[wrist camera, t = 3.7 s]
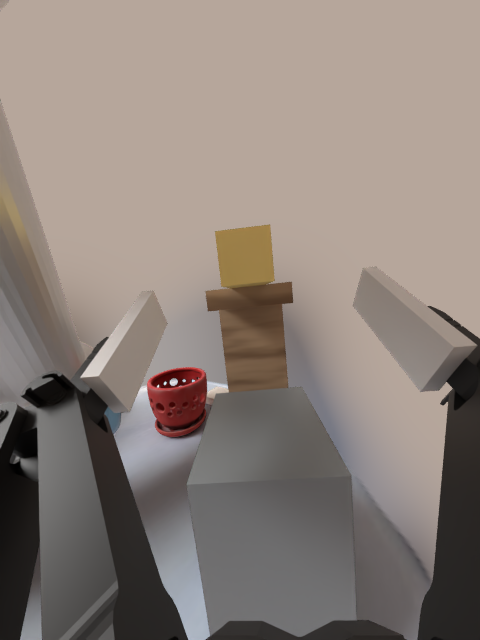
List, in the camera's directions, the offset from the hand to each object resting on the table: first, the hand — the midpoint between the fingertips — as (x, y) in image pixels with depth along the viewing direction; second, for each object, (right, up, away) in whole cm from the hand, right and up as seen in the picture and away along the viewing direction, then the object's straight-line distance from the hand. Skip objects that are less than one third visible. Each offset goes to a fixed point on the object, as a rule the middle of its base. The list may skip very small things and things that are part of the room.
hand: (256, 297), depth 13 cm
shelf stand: (+3, -26, +23) cm, 35 cm away
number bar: (0, +3, +13) cm, 13 cm away
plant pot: (-14, -26, +36) cm, 47 cm away
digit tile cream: (-7, -25, +45) cm, 52 cm away
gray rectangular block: (+3, -28, +7) cm, 29 cm away
